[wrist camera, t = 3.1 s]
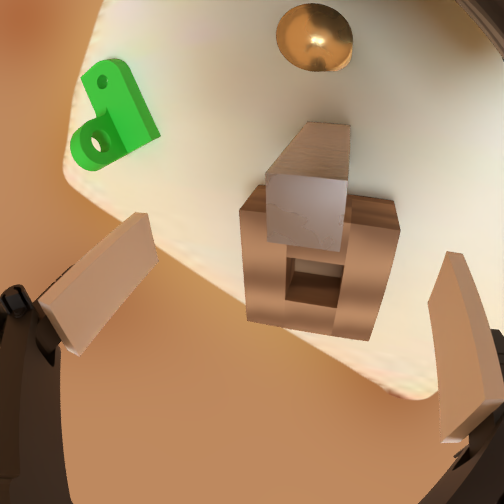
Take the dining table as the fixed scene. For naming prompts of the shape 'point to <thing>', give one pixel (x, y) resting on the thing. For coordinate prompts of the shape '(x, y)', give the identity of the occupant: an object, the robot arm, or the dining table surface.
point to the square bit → (309, 188)
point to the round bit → (315, 38)
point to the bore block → (320, 271)
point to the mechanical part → (112, 117)
